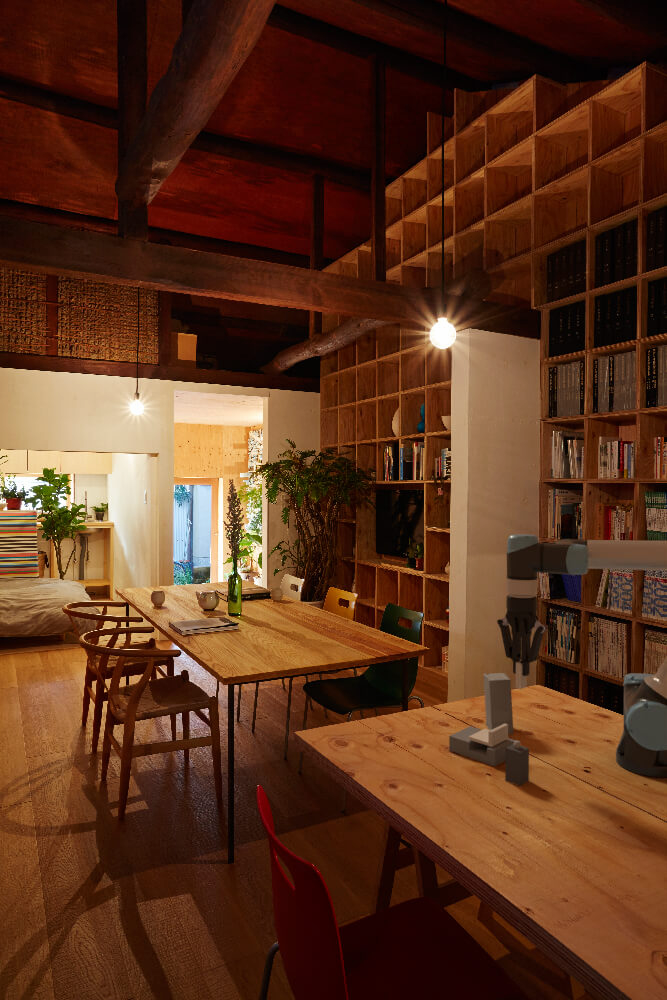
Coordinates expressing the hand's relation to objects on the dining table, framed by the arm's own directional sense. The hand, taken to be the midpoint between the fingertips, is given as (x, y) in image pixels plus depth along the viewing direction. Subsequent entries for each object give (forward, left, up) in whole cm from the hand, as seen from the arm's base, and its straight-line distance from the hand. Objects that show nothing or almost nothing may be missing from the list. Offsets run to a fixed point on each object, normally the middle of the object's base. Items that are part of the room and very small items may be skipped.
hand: (521, 687), depth 164 cm
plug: (-4, +8, -20) cm, 22 cm away
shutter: (+9, 0, -16) cm, 19 cm away
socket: (+11, 0, -20) cm, 23 cm away
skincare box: (+17, -18, -21) cm, 32 cm away
